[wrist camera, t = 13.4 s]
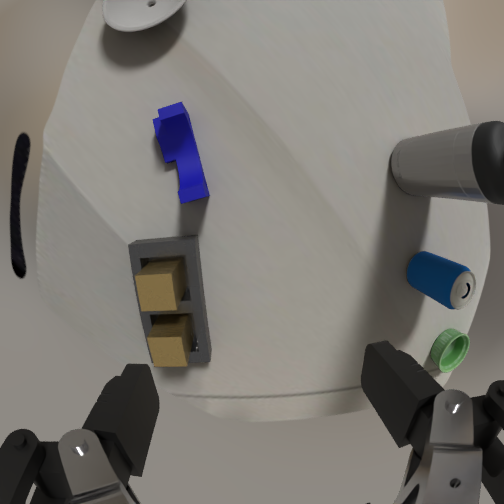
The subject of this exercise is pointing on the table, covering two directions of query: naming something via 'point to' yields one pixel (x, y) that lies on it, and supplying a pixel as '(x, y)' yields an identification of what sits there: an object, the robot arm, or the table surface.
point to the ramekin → (449, 349)
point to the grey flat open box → (193, 294)
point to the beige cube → (161, 284)
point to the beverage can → (441, 279)
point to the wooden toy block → (171, 340)
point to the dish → (138, 13)
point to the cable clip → (181, 150)
